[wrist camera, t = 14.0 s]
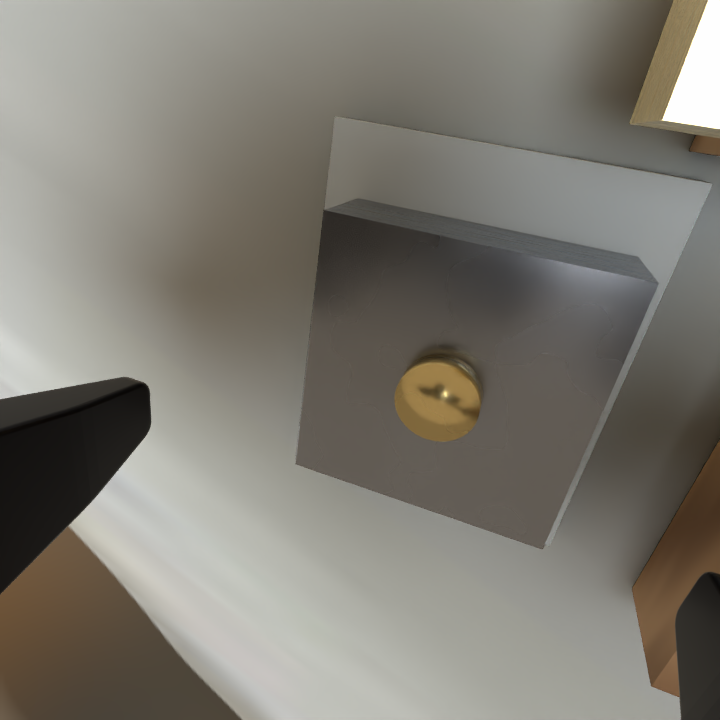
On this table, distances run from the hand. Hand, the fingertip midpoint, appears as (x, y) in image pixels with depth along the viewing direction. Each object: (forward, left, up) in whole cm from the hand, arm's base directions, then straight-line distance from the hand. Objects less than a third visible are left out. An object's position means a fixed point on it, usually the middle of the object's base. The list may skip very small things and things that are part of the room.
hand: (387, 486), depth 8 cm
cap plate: (0, 0, -6) cm, 6 cm away
